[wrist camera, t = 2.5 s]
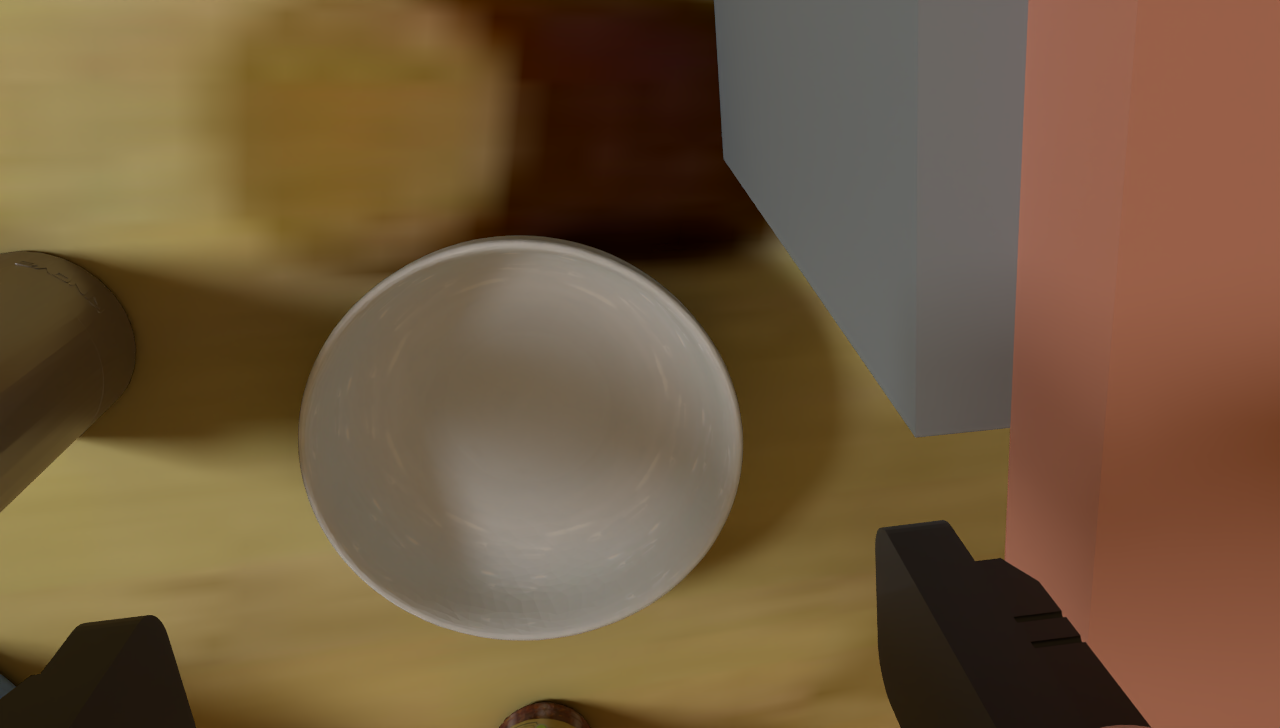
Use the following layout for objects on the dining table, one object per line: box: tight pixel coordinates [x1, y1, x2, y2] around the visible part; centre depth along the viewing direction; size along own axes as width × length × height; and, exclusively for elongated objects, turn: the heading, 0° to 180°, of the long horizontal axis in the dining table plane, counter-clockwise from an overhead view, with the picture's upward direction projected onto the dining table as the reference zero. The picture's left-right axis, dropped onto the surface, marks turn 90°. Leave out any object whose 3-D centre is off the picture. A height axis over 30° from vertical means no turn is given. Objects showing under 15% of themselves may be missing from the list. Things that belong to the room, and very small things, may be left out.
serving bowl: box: [298, 235, 743, 640], centre depth 53 cm, size 21×21×7 cm
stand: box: [714, 0, 1028, 437], centre depth 36 cm, size 23×18×32 cm
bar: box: [1005, 0, 1280, 728], centre depth 19 cm, size 26×4×4 cm, turn 5°
